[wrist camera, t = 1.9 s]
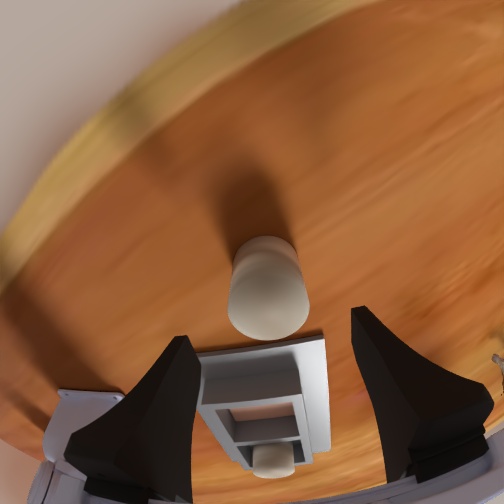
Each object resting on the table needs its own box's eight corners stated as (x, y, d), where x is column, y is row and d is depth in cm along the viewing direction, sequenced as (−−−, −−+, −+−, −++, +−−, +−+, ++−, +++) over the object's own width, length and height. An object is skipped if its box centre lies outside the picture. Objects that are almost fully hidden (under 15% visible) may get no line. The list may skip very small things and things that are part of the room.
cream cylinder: (241, 297, 20) (238, 345, 16) (226, 242, 18) (217, 284, 14) (302, 286, 19) (313, 332, 15) (293, 229, 18) (304, 268, 14)
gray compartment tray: (233, 458, 31) (232, 478, 29) (168, 355, 22) (160, 384, 20) (330, 447, 30) (333, 467, 27) (323, 334, 21) (330, 364, 19)
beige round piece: (257, 444, 28) (257, 479, 24) (249, 428, 27) (248, 466, 23) (293, 440, 28) (296, 475, 24) (289, 424, 26) (292, 462, 22)
